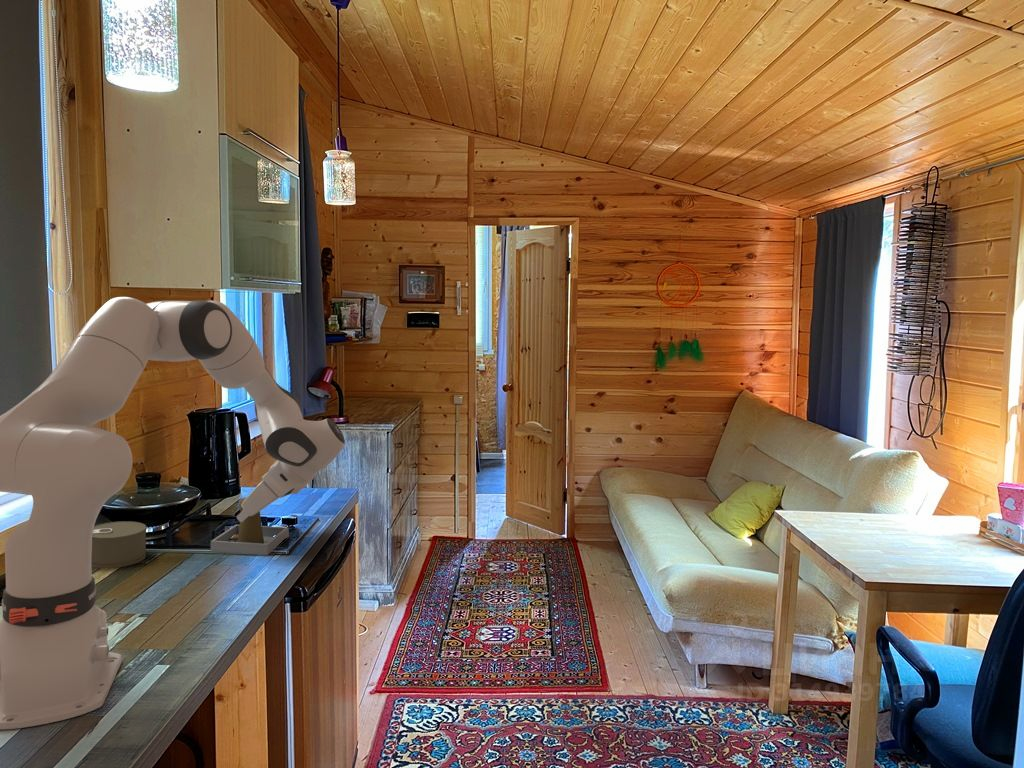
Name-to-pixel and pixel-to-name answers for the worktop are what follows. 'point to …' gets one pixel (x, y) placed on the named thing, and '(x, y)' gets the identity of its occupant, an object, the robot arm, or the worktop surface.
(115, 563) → the can
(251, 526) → the cork
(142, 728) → the worktop surface
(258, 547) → the tray
